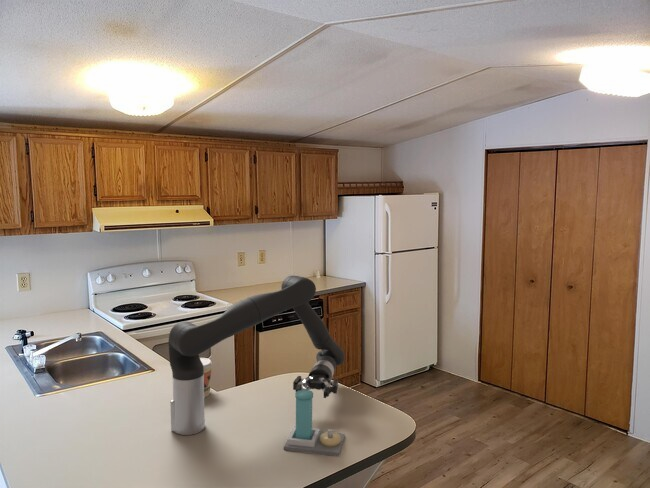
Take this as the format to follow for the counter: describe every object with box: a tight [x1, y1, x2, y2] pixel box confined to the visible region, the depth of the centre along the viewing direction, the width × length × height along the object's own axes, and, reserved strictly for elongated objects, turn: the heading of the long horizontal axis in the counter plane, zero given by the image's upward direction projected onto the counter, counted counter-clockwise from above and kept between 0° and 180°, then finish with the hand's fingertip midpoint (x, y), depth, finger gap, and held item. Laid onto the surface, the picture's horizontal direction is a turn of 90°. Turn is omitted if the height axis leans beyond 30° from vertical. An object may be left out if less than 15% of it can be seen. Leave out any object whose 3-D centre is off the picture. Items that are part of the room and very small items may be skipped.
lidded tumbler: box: [294, 389, 314, 440], centre depth 146 cm, size 5×5×14 cm
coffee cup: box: [200, 357, 213, 398], centre depth 178 cm, size 9×9×12 cm
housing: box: [283, 425, 346, 457], centre depth 146 cm, size 16×11×4 cm
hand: (311, 393), depth 155 cm, fingers open, 8 cm apart
